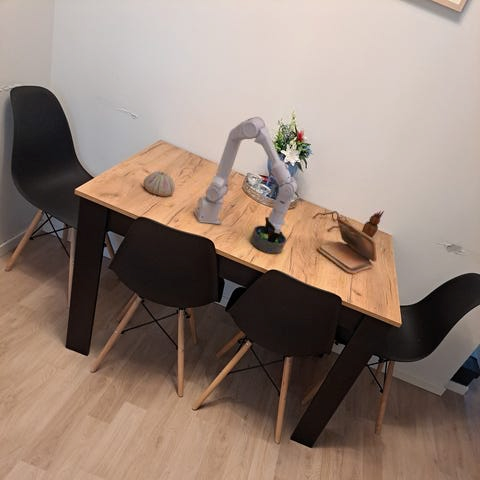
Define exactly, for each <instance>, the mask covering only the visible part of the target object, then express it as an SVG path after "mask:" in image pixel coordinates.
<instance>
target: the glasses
mask: <svg viewBox="0 0 480 480" xmlns="http://www.w3.org/2000/svg"><path fill="white" fill-rule="evenodd" d="M334 213H335V214H336V219H335V217H334ZM319 215H321V216H326V215H331V219H332V220H333V221H335V222H338V221H337V219H338V218H341V219H343V218H342V217H341V216H340V215H339V212H338V211H336V210H334V211H332V212H331V211H329V212H326V213H322V212H318V213H316V214H314V216H313V217H312V218H313V219H315V218H316V217H317V216H319ZM344 220H345V221H346V222H348V223H349V224H350V221H348V220H347V219H344ZM334 228H335V229H339V226H337V225H333V226H331V227H330V228H329V229H327V232H331V230H333V229H334Z"/></svg>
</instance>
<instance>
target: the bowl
mask: <svg viewBox="0 0 480 480" xmlns="http://www.w3.org/2000/svg"><path fill="white" fill-rule="evenodd" d="M264 232H265V225H256V226H254V228H253V230H252V233H251V236H250V242H251V244H252V245H253V246H254V247H255V248H256V249H258V250H260V251H262V252H264V253H268V254H279V253H282V252H283V249H284V247H285V244H286V242H287V237H286V236H285V235H284V234H283V233H282V235H281V236H280V237H278V238H277V240H278V243H272V242H269V241H267V240H264V239H263V238H261V237H260V236H258V235H259V234H260V233H264Z"/></svg>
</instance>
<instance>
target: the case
mask: <svg viewBox="0 0 480 480" xmlns="http://www.w3.org/2000/svg"><path fill="white" fill-rule="evenodd" d="M341 218H342V217H341ZM341 218H338V219H337V218H336V219H337V221H336V222H337V224H338V227H339V228H338V229H339V232H340V233H339V234H340V237H341V240H342V241H343V242H342V241H335V242H331V243H327V244H323V245H318V246H317V251H318V252H320V253H321V254H322V255H323V256H324V257H326V258H327V259H329V260H330V261H331V262H333V264H335V265H337V266H338V267H339V268H341V269H342V270H344V271H345V272H346V273H348V274H356V273H359V272H362V271H365V270H368V269H370V268H373V262H375V263H376V262H377V261H378V258H377V243H376V240H374V238H373V237H372V238H371V237H369V236H368V235H366V234H365V233H363V232H362V230H361V229H358V228H357V227H355V226H354V225H353V224H351V223H350V222H349V221H348V222H349V223H348V222H346V221H345V220H346V219H343V218H342V219H341Z"/></svg>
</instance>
